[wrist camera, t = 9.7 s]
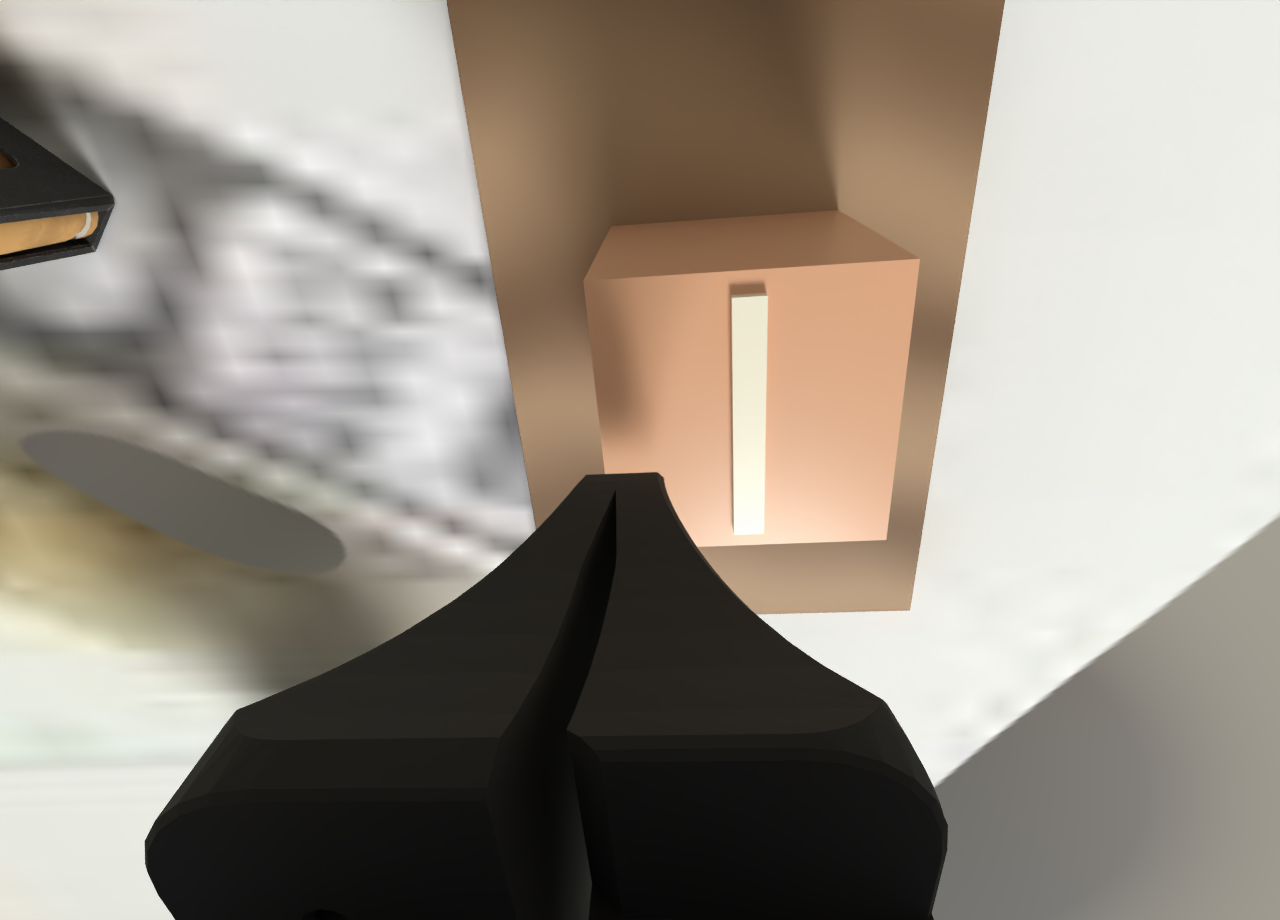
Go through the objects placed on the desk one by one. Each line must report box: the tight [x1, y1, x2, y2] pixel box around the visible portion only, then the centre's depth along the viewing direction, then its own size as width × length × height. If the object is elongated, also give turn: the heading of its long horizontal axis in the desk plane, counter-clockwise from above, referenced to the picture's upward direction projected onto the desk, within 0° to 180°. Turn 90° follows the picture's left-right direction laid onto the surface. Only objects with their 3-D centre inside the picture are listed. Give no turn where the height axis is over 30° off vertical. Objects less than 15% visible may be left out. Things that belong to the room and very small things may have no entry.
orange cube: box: [583, 210, 920, 547], centre depth 15 cm, size 6×6×6 cm
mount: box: [447, 0, 1005, 614], centre depth 17 cm, size 20×12×6 cm, turn 4°
